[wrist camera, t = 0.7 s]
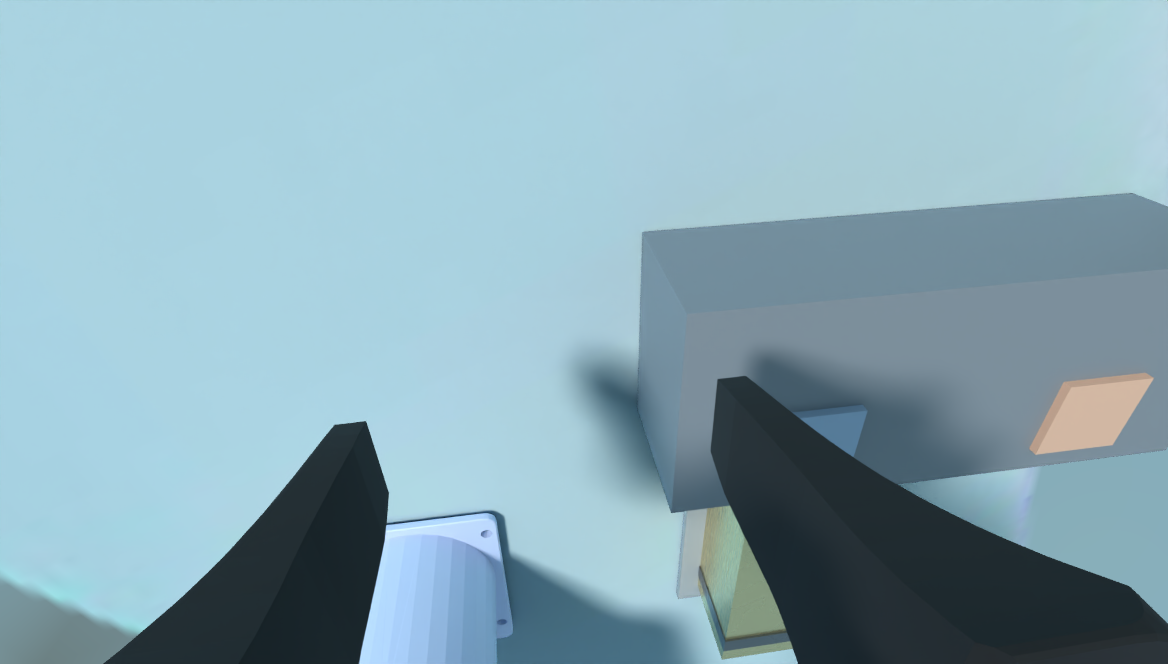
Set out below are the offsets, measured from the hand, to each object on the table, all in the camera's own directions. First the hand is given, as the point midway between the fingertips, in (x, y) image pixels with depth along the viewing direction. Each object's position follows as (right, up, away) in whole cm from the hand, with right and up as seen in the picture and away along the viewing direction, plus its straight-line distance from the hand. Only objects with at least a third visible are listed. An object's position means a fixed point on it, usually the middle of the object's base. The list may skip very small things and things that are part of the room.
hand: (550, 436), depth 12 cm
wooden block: (+9, -7, +17) cm, 21 cm away
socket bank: (+12, +3, +12) cm, 17 cm away
